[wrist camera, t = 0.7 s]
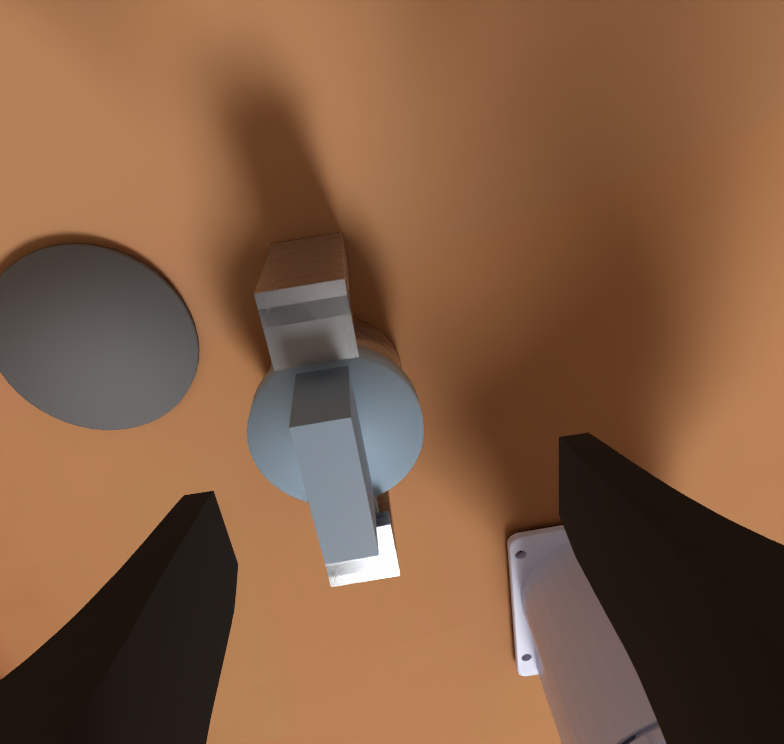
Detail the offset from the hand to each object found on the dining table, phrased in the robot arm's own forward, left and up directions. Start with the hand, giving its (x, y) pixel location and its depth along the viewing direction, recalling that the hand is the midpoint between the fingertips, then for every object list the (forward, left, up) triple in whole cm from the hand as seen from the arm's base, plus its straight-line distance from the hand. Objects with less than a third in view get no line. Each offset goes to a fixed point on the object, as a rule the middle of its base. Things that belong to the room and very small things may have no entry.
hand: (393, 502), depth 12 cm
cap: (-2, +2, -7) cm, 8 cm away
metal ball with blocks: (-2, +2, -10) cm, 11 cm away
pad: (+1, +10, -10) cm, 14 cm away
